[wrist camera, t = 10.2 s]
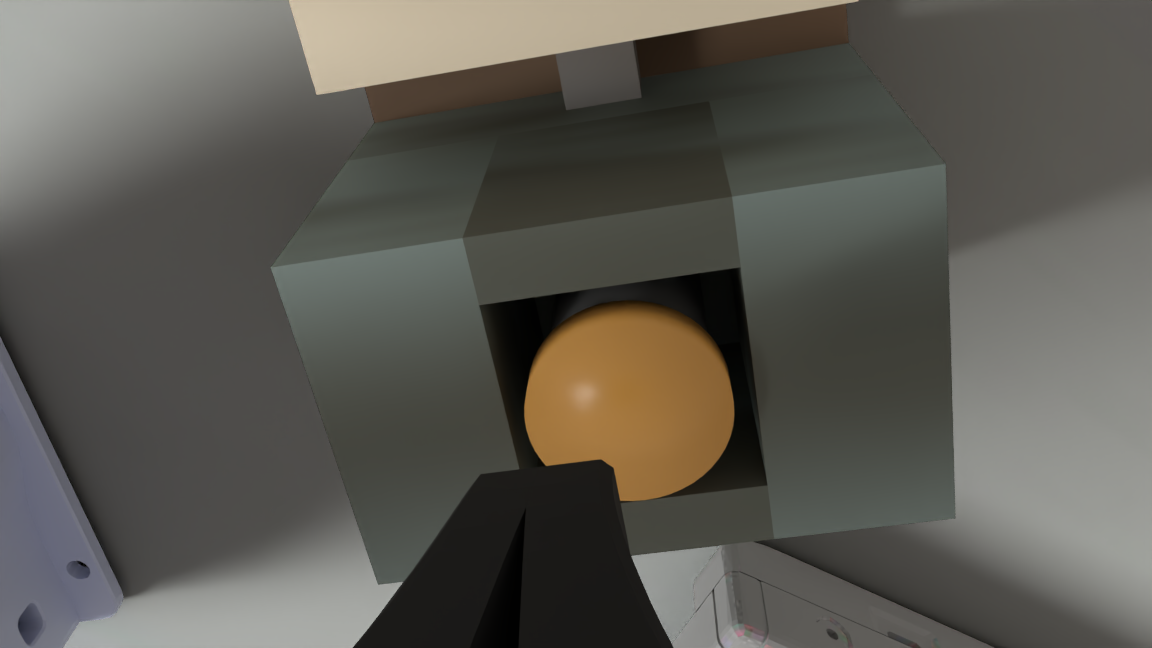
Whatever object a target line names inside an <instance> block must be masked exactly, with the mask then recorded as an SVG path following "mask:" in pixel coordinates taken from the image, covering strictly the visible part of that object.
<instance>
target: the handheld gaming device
mask: <svg viewBox="0 0 1152 648" xmlns="http://www.w3.org/2000/svg"><path fill="white" fill-rule="evenodd" d="M693 591H694V604H695V613H694V615H693V616H692V617H691V619H690V620H689V621H688V623H687V624H686V625H685V627H684V628H683V629H682V631H681V632H680V633H679V635H678V636H677V637H676V639H675V640H674V641H673V643H672V645H673V647H674V648H994V647H992V646H990V645H988V644H985V643H983V642H981V641H979V640H976V639H974V638H972V637H970V636H967V635H965V634H963V633H961V632H958V631H956V630H954V629H952V628H950V627H947V626H945V625H943V624H941V623H938V622H936V621H934V620H932V619H929V618H927V617H925V616H923V615H920V614H918V613H916V612H914V611H911V610H909V609H907V608H905V607H903V606H900V605H898V604H896V603H894V602H891V601H889V600H887V599H885V598H882V597H880V596H878V595H876V594H873V593H871V592H869V591H867V590H865V589H862V588H860V587H858V586H856V585H853V584H851V583H849V582H847V581H844V580H842V579H840V578H838V577H835V576H833V575H831V574H829V573H826V572H824V571H822V570H820V569H818V568H815V567H813V566H811V565H809V564H806V563H804V562H802V561H800V560H797V559H795V558H793V557H791V556H788V555H786V554H784V553H782V552H780V551H777V550H775V549H773V548H770V547H768V546H765V545H762V544H759V543H756V542H745V543H736V544H728V545H720V547H719V548H718V549H717V551H716V552H715V553H714V555H713V556H712V557H711V559H710V560H709V561H708V563H707V564H706V565H705V567H704V568H703V569H702V571H701V572H700V573H699V575H698V576H697V578H696V579H695V580H694V585H693Z"/></svg>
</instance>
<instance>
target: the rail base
mask: <svg viewBox="0 0 1152 648" xmlns="http://www.w3.org/2000/svg"><path fill="white" fill-rule="evenodd" d="M365 90H366V94H367V97H368V101H369V105H370V108H371V112H372V116H373V119H374V124H373V126H372V127H371V129H370V130H369V131H368V133H367V134H366V136H365V137H364V138H363V140H362V141H361V142H360V144H359V145H358V147H357V148H356V149H355V151H354V152H353V154H352V155H351V156H350V158H349V159H348V161H347V162H346V163H345V165H344V166H343V168H342V169H341V170H340V172H339V173H338V174H337V176H336V177H335V179H334V180H333V181H332V183H331V184H330V186H329V187H328V188H327V190H326V191H325V193H324V194H323V195H322V197H321V198H320V200H319V201H318V202H317V204H316V205H315V206H314V208H313V209H312V211H311V212H310V213H309V215H308V216H307V218H306V219H305V220H304V222H303V223H302V225H301V226H300V227H299V229H298V230H297V232H296V233H295V234H294V236H293V237H292V238H291V240H290V241H289V243H288V244H287V245H286V247H285V248H284V250H283V251H282V252H281V254H280V255H279V257H278V258H277V259H276V261H275V262H274V264H273V265H272V266H271V270H272V273H273V276H274V279H275V282H276V285H277V288H278V291H279V294H280V297H281V300H282V303H283V306H284V309H285V312H286V315H287V318H288V320H289V323H290V326H291V329H292V332H293V335H294V338H295V341H296V344H297V347H298V350H299V353H300V356H301V359H302V362H303V365H304V368H305V371H306V374H307V376H308V379H309V382H310V385H311V388H312V391H313V394H314V397H315V400H316V403H317V406H318V409H319V412H320V415H321V418H322V421H323V424H324V427H325V430H326V432H327V435H328V438H329V441H330V444H331V447H332V450H333V453H334V456H335V459H336V462H337V465H338V468H339V471H340V474H341V477H342V480H343V483H344V486H345V488H346V491H347V494H348V497H349V500H350V503H351V506H352V509H353V512H354V515H355V518H356V521H357V524H358V527H359V530H360V533H361V536H362V539H363V542H364V544H365V547H366V550H367V553H368V556H369V559H370V562H371V565H372V568H373V571H374V574H375V577H376V580H377V583H378V585H379V584H388V583H396V582H404V581H405V579H406V578H407V577H408V575H409V574H410V573H411V571H412V570H413V569H414V567H415V566H416V564H417V563H418V562H419V560H420V559H421V557H422V556H423V555H424V553H425V552H426V550H427V549H428V547H429V546H430V545H431V543H432V542H433V540H434V539H435V537H436V536H437V535H438V533H439V532H440V530H441V529H442V527H443V526H444V524H445V523H446V521H447V520H448V519H449V517H450V516H451V514H452V513H453V511H454V510H455V508H456V507H457V505H458V504H459V503H460V501H461V500H462V498H463V497H464V495H465V494H466V493H467V491H468V490H469V488H470V487H471V485H472V484H473V483H474V482H475V480H476V479H477V478H478V477H479V475H480V474H485V473H493V472H502V471H510V470H518V469H526V468H534V467H542V466H546V465H545V464H544V463H543V462H542V461H541V459H540V458H539V456H538V455H537V453H536V452H535V450H534V448H533V446H532V444H531V442H530V439H529V436H528V433H527V430H526V424H525V418H524V405H525V398H526V392H527V386H528V380H529V373H530V369H531V365H532V362H533V359H534V357H535V355H536V353H537V351H538V349H539V347H540V346H541V344H542V343H543V341H544V340H545V338H546V337H547V336H548V335H549V334H550V333H551V327H552V320H553V313H554V306H555V299H556V294H560V293H567V292H574V291H581V290H587V289H594V288H601V287H608V286H615V285H622V284H629V283H635V282H642V281H649V280H656V279H663V278H670V277H677V276H684V275H690V274H697V273H699V276H700V283H701V290H702V297H703V304H704V311H705V319H706V326H707V333H708V334H709V335H710V336H711V337H712V338H713V340H714V341H715V342H716V344H717V345H718V347H719V349H720V350H721V352H722V354H723V356H724V359H725V361H726V364H727V367H728V372H729V377H730V382H731V388H732V394H733V400H734V423H733V429H732V432H731V436H730V439H729V441H728V444H727V446H726V448H725V450H724V451H723V453H722V455H721V456H720V458H719V459H718V461H717V462H716V463H715V464H714V465H713V467H712V468H711V469H710V470H709V471H708V472H706V473H705V474H704V475H703V476H702V477H701V478H699V479H698V480H697V481H695V482H694V483H692V484H691V485H689V486H687V487H685V488H683V489H681V490H679V491H677V492H674V493H672V494H669V495H666V496H662V497H659V498H654V499H649V500H640V501H620V503H621V508H622V513H623V518H624V523H625V529H626V534H627V539H628V544H629V549H630V554H631V556H632V555H641V554H649V553H658V552H667V551H675V550H684V549H693V548H702V547H710V546H719V545H728V544H736V543H745V542H754V541H763V540H771V539H780V538H789V537H798V536H806V535H815V534H824V533H832V532H841V531H850V530H859V529H867V528H876V527H885V526H893V525H902V524H911V523H920V522H928V521H937V520H946V519H955V485H954V448H953V411H952V374H951V338H950V301H949V264H948V227H947V190H946V164H945V162H944V161H943V160H942V159H941V157H940V156H939V155H938V154H937V152H936V151H935V150H934V149H933V147H932V146H931V145H930V144H929V142H928V141H927V140H926V139H925V137H924V136H923V135H922V134H921V132H920V131H919V130H918V129H917V127H916V126H915V125H914V124H913V122H912V121H911V120H910V119H909V117H908V116H907V115H906V114H905V112H904V111H903V110H902V109H901V107H900V106H899V105H898V104H897V103H896V101H895V100H894V99H893V98H892V96H891V95H890V94H889V93H888V91H887V90H886V89H885V88H884V86H883V85H882V84H881V83H880V81H879V80H878V79H877V78H876V76H875V75H874V74H873V73H872V71H871V70H870V69H869V68H868V66H867V65H866V64H865V63H864V61H863V60H862V59H861V58H860V56H859V55H858V54H857V53H856V51H855V50H854V49H853V48H852V46H851V45H850V44H849V40H848V25H847V10H846V4H840V5H834V6H829V7H823V8H817V9H811V10H806V11H800V12H794V13H788V14H782V15H777V16H771V17H765V18H759V19H754V20H748V21H742V22H736V23H730V24H725V25H719V26H713V27H707V28H702V29H696V30H690V31H684V32H678V33H673V34H667V35H661V36H655V37H650V38H644V39H638V40H632V41H626V42H621V43H615V44H609V45H603V46H598V47H592V48H586V49H580V50H574V51H569V52H563V53H557V54H551V55H546V56H540V57H534V58H528V59H522V60H517V61H511V62H505V63H499V64H494V65H488V66H482V67H476V68H470V69H465V70H459V71H453V72H447V73H442V74H436V75H430V76H424V77H418V78H413V79H407V80H401V81H395V82H390V83H384V84H378V85H372V86H366V87H365Z"/></svg>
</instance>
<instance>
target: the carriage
mask: <svg viewBox="0 0 1152 648" xmlns="http://www.w3.org/2000/svg"><path fill="white" fill-rule="evenodd" d="M852 2H858V0H289V3H290V6H291V10H292V13H293V17H294V20H295V23H296V27H297V30H298V33H299V37H300V40H301V44H302V47H303V50H304V54H305V57H306V61H307V64H308V67H309V71H310V74H311V78H312V81H313V84H314V88H315V91H316V95H320V94H326V93H332V92H338V91H343V90H349V89H355V88H361V87H366V86H372V85H378V84H384V83H390V82H395V81H401V80H407V79H413V78H418V77H424V76H430V75H436V74H442V73H447V72H453V71H459V70H465V69H470V68H476V67H482V66H488V65H494V64H499V63H505V62H511V61H517V60H522V59H528V58H534V57H540V56H546V55H551V54H557V53H563V52H569V51H574V50H580V49H586V48H592V47H598V46H603V45H609V44H615V43H621V42H626V41H632V40H638V39H644V38H650V37H655V36H661V35H667V34H673V33H678V32H684V31H690V30H696V29H702V28H707V27H713V26H719V25H725V24H730V23H736V22H742V21H748V20H754V19H759V18H765V17H771V16H777V15H782V14H788V13H794V12H800V11H806V10H811V9H817V8H823V7H829V6H834V5H840V4H846V3H852Z"/></svg>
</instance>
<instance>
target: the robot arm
mask: <svg viewBox="0 0 1152 648" xmlns="http://www.w3.org/2000/svg"><path fill="white" fill-rule="evenodd" d="M77 561H81V562H83V563H85V564H86V565H87V566H88V567H84V566H82V565H80V564H79V563H78V562H77ZM123 598H124V597H123V593H122V590H121V588H120V586H119V584H118V582H117V579H116V577H115V575H114V573H113V571H112V569H111V567H110V565H109V563H108V561H107V559H106V557H105V554H104V552H103V550H102V548H101V546H100V544H99V542H98V540H97V538H96V536H95V534H94V531H93V529H92V527H91V525H90V523H89V521H88V519H87V517H86V515H85V513H84V511H83V508H82V506H81V504H80V502H79V500H78V498H77V496H76V494H75V492H74V490H73V488H72V486H71V483H70V481H69V479H68V477H67V475H66V473H65V471H64V469H63V467H62V465H61V463H60V460H59V458H58V456H57V454H56V452H55V450H54V448H53V446H52V444H51V442H50V440H49V438H48V435H47V433H46V431H45V429H44V427H43V425H42V423H41V421H40V419H39V417H38V415H37V412H36V410H35V408H34V406H33V404H32V402H31V400H30V398H29V396H28V394H27V392H26V389H25V387H24V385H23V383H22V381H21V379H20V377H19V375H18V373H17V371H16V369H15V367H14V364H13V362H12V360H11V358H10V356H9V354H8V352H7V350H6V348H5V346H4V344H3V341H2V339H1V337H0V648H63V647H64V645H65V644H66V642H67V640H68V639H69V637H70V636H71V634H72V633H73V631H74V630H75V628H76V626H77V625H78V623H79V622H82V621H91V620H100V619H106V618H109V617H112V616H113V615H114V614H115V613H116V612H117V611H118V609H119V607H120V606H121V604H122V601H123ZM353 648H674V647H673V645H672V644H671V642H670V640H669V638H668V636H667V634H666V632H665V630H664V629H663V627H662V625H661V623H660V621H659V619H658V617H657V614H656V612H655V610H654V608H653V606H652V604H651V602H650V600H649V598H648V595H647V593H646V591H645V588H644V586H643V584H642V581H641V579H640V577H639V574H638V572H637V569H636V567H635V565H634V562H633V560H632V558H631V554H630V549H629V544H628V539H627V534H626V529H625V523H624V518H623V513H622V508H621V503H620V498H619V493H618V487H617V482H616V477H615V472H614V468H613V467H612V466H610V465H609V464H607V463H606V462H604V461H603V460H601V459H598V460H590V461H582V462H574V463H566V464H558V465H550V466H542V467H534V468H526V469H518V470H510V471H502V472H493V473H485V474H480V475H479V477H478V478H477V479H476V480H475V482H474V483H473V484H472V485H471V487H470V488H469V490H468V491H467V493H466V494H465V495H464V497H463V498H462V500H461V501H460V503H459V504H458V505H457V507H456V508H455V510H454V511H453V513H452V514H451V516H450V517H449V519H448V520H447V521H446V523H445V524H444V526H443V527H442V529H441V530H440V532H439V533H438V535H437V536H436V537H435V539H434V540H433V542H432V543H431V545H430V546H429V547H428V549H427V550H426V552H425V553H424V555H423V556H422V557H421V559H420V560H419V562H418V563H417V564H416V566H415V567H414V569H413V570H412V571H411V573H410V574H409V575H408V577H407V578H406V579H405V581H404V582H403V583H402V585H401V586H400V587H399V589H398V590H397V591H396V593H395V594H394V596H393V597H392V598H391V600H390V601H389V602H388V604H387V605H386V606H385V608H384V609H383V610H382V612H381V613H380V614H379V616H378V617H377V618H376V620H375V621H374V622H373V623H372V625H371V626H370V627H369V629H368V630H367V631H366V632H365V634H364V635H363V636H362V637H361V638H360V640H359V641H358V642H357V643H356V644H355V646H354V647H353Z"/></svg>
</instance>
